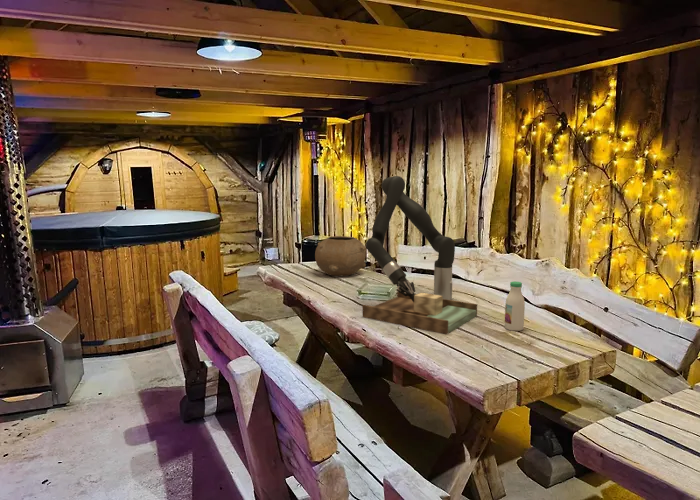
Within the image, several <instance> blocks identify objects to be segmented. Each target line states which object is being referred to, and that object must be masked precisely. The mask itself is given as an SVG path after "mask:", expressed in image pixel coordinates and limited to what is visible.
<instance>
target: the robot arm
mask: <svg viewBox="0 0 700 500" xmlns="http://www.w3.org/2000/svg"><path fill="white" fill-rule="evenodd" d="M405 189H406V182H405V179H404V178H403V177H402V176H399V175H394V176H389V177H387V178H384V179H383V180H382V181H381V190H382V192H383V193H384V195H386V199H385V201H384V203H383V205H382V207H381V208H380V209H379V211H378V212H377V215H376V217H375V219H374V223H373V226H372V229H371V231H372V235H371V237H370V238H368V239H366V242H365V249H366V250H367V251H368V252H369V254H370V255H371V256H372V257H373V258H374V259H375V261H376V262H377V264H378V265H379V266H380V268H381V269H382V270H383V273H384V274H385V275H386V277H387V278H388V279H389V280H390V282H391V283H392V284H393V285H394V286H396V287H397V288H396V291H397V292H399V293H401V294H403V295H404V296H406V297H407V296H408V297H410V298H411V300H412V301H413V302H414V295H415V292H416V286H415V283H414V282H413V281H411V282H410V281H409V280H408V279H407V278H406V277H407V274H406V273H405V271H404V270H403V268H402V267H401V266H400V265H399V264H398V262H396V260H395V259H394V258H393V256H391V254H390V253H389V252H388V251H387V250H386V248H385V247H384V244H385V240H386V234H387V231H388V228H389V225H390V222H391V219H392V217H393V215H394V212H395V210H396V207H398V208H399V210H401V212H402V213H403V214H404V215H405V216H406V217H407V218H408V220H409V221H410V222H411V223H412V225H413V226H415V228H416V229H417V230H418V231H419V232H420V233H421V235H422V236H424V238H425V239H426V240H427V241H428V242H427V243H429V244H430V246H431V248H432V249H433V250H434V252H436V253H438V258H437V259H436V260H435V261H434V268H433V270H434V271H433V277H434V278H433V295H440V296H443V299H447V300H453V263H454V262H455V252H456V251H455V250H456V245H455V244H456V243H455V241H454V239H453V238H451V237H449V236H445V235H443V234H442V233H441V232H440V231H439V230H438V229H437V228H436V226H435V225H434V223H433V221H432V218H431V215H430V214H429V213H428V211H427V210H426V209H425V208H424V207H423V206H422V205H421V204H420V203H418V202H416V201H415V200H414V199H412V198H411V197H409V196H408V195H407V194H406V193H405V192H404V191H405Z"/></svg>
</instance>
